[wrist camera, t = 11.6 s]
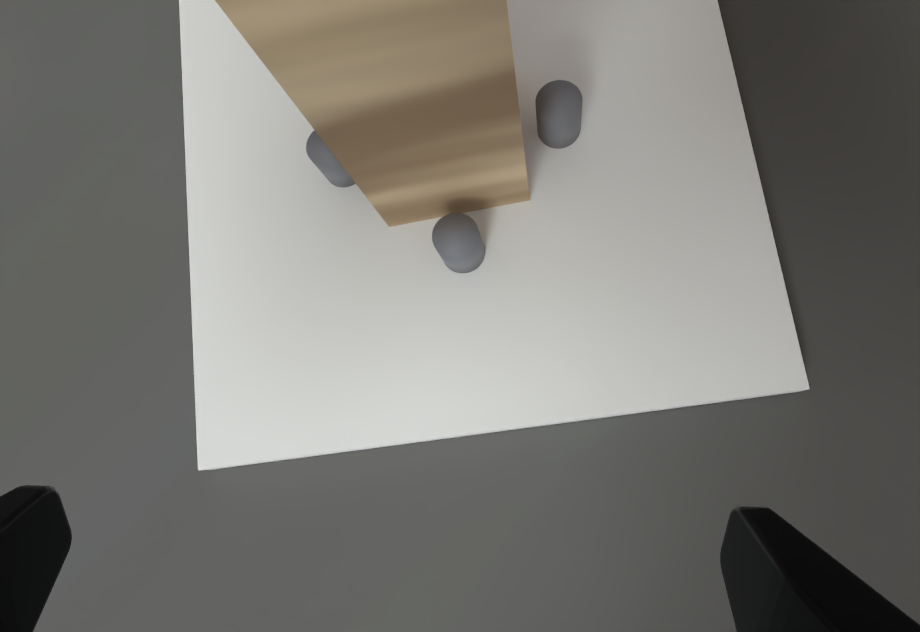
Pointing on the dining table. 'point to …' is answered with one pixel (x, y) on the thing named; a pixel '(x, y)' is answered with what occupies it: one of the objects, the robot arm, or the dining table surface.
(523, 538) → the dining table surface
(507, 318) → the peg board
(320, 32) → the bronze post
